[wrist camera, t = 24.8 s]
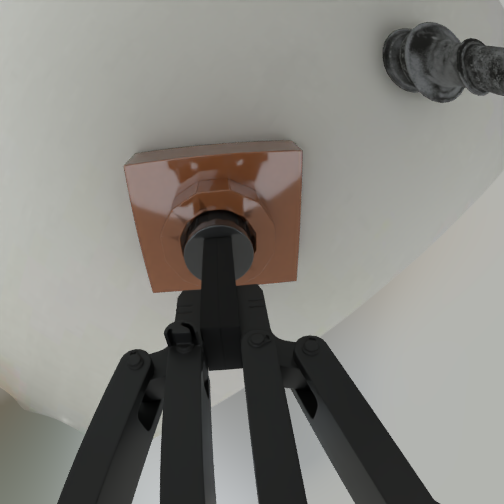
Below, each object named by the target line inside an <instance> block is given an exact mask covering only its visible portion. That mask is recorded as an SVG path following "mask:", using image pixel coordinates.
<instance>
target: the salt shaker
mask: <svg viewBox="0 0 504 504" xmlns="http://www.w3.org/2000/svg"><path fill="white" fill-rule="evenodd" d="M383 61H384V66H385V68H386V71H387V73H388V75H389V76H390V78H391V79H392V81H393V82H394V83H395V84H396V85H398V86H399V87H400V88H402V89H404V90H406V91H410V92H421V93H422V94H423V95H424V96H425V97H427V98H429V99H430V100H432V101H436V102H440V103H444V102H450V101H452V100H454V99H456V98H457V97H458V96H459V95H460V94H461V93H462V91H463V89H464V88H467V89H468V90H469V91H470V92H471V93H473V94H476V95H478V96H484V95H486V94H488V93H489V92H491V93H494V94H498V95H502V96H504V48H502V47H494V46H486V45H484V44H483V43H482V42H481V41H479V40H477V39H472V38H470V39H466V40H464V41H463V42H462V43H460V41H459V40H458V38H457V37H456V36H455V35H454V34H453V33H452V32H451V31H450V30H449V29H447V28H446V27H445V26H443V25H440V24H438V23H433V22H426V23H422V24H419V25H417V26H416V27H415V28H413V29H412V30H411V29H399V30H396V31H394V32H393V33H391V34H390V35H389V36H388V38H387V39H386V41H385V44H384V47H383Z"/></svg>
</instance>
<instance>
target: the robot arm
mask: <svg viewBox="0 0 504 504" xmlns="http://www.w3.org/2000/svg"><path fill="white" fill-rule="evenodd" d="M164 335H165V338H166V341H167V344H168V347H166V348H165V349H163V350H161V351H159V352H155V353H152V354H148V353H147V352H146V351H144V350H141V349H135V350H131V351H129V352H127V353H126V354H124V356H123V357H122V358H121V360H120V362H119V364H118V366H117V368H116V370H115V372H114V374H113V376H112V378H111V380H110V382H109V384H108V386H107V388H106V390H105V393H104V395H103V397H102V399H101V401H100V403H99V405H98V407H97V410H96V412H95V414H94V416H93V418H92V421H91V423H90V425H89V427H88V430H87V432H86V434H85V436H84V439H83V441H82V443H81V446H80V448H79V450H78V453H77V455H76V457H75V460H74V462H73V465H72V467H71V470H70V472H69V474H68V477H67V480H66V482H65V485H64V488H63V490H62V492H61V495H60V498H59V500H58V503H57V504H131V503H132V500H133V497H134V494H135V491H136V488H137V485H138V481H139V478H140V475H141V472H142V469H143V466H144V463H145V460H146V457H147V454H148V451H149V448H150V445H151V442H152V439H153V436H154V433H155V430H156V427H157V424H158V422H159V419H160V416H161V413H162V410H163V420H162V439H161V440H162V441H161V466H160V504H216V494H215V479H214V465H213V447H212V425H211V399H210V380H209V376H208V368H209V371H213V370H227V369H239V368H243V373H244V383H245V392H246V401H247V411H248V420H249V429H250V436H251V446H252V454H253V463H254V471H255V479H256V487H257V495H258V502H259V504H307V499H306V494H305V489H304V485H303V479H302V474H301V469H300V464H299V459H298V454H297V449H296V444H295V439H294V434H293V429H292V424H291V419H290V414H289V409H288V404H287V399H286V394H285V389H284V387H285V388H291V390H292V392H293V394H294V396H295V398H296V399H297V401H298V403H299V405H300V407H301V409H302V410H303V412H304V414H305V416H306V418H307V420H308V421H309V423H310V425H311V426H312V429H313V430H314V432H315V434H316V436H317V438H318V439H319V441H320V443H321V445H322V447H323V448H324V450H325V452H326V454H327V455H328V457H329V459H330V461H331V463H332V464H333V466H334V468H335V470H336V471H337V473H338V475H339V477H340V478H341V480H342V482H343V483H344V485H345V487H346V489H347V490H348V492H349V494H350V495H351V497H352V499H353V501H354V502H355V504H440V503H438V502H436V501H435V500H434V499H433V498H432V496H431V495H430V493H429V492H428V490H427V489H426V487H425V486H424V485H423V483H422V482H421V480H420V479H419V477H418V476H417V474H416V473H415V471H414V470H413V468H412V467H411V466H410V464H409V462H408V461H407V459H406V458H405V457H404V455H403V454H402V452H401V451H400V449H399V448H398V446H397V445H396V443H395V442H394V441H393V439H392V438H391V436H390V435H389V433H388V432H387V430H386V429H385V427H384V426H383V424H382V423H381V421H380V420H379V419H378V417H377V416H376V414H375V413H374V412H373V410H372V408H371V407H370V405H369V404H368V403H367V401H366V400H365V398H364V397H363V395H362V394H361V392H360V391H359V390H358V388H357V387H356V385H355V384H354V382H353V381H352V380H351V378H350V377H349V375H348V374H347V372H346V371H345V370H344V368H343V367H342V365H341V364H340V362H339V361H338V359H337V358H336V356H335V355H334V354H333V352H332V351H331V349H330V348H329V346H328V345H327V344H326V342H325V341H324V340H323V339H321V338H319V337H317V336H304V337H302V338H300V339H298V340H297V342H290V341H284V340H281V339H279V338H277V337H276V336H275V335H274V334H273V333H272V332H271V329H270V325H269V320H268V315H267V310H266V305H265V300H264V295H263V290H262V289H261V288H260V287H259V286H258V285H257V284H251V285H239V286H236V279H235V269H234V259H233V248H232V238H231V237H222V238H210V239H204V241H203V259H202V279H201V289H198V290H184V291H182V293H181V294H180V296H179V297H178V300H177V309H176V317H175V322H173V323H171V324H169V325H168V326H167V328H166V329H165V331H164Z"/></svg>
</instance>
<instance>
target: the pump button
mask: <svg viewBox="0 0 504 504" xmlns="http://www.w3.org/2000/svg"><path fill="white" fill-rule="evenodd" d="M222 237H231V238H232V248H233V259H234V269H235V279H236V280H237V279H239V278H241V277H242V276H243V275H244V274H245V273H246V272H247V271H248V270H249V269H250V267H251V265H252V262H253V259H254V249H253V244H252V239H251V234H250V230H249V228H248V226H247V224H246V223H245V221H244V220H243V219H242V218H241V217H239V216H238V215H236V214H234V213H232V212H229V211H225V210H212V211H208V212H205V213H203V214H201V215H199V216H198V217H197V218H195V219H194V220H193V221H192V223H191V224H190V226H189V228H188V230H187V234H186V240H185V247H184V261H185V264H186V266H187V268H188V270H189V271H190V272H191V273H192V274H193V275H194V276H195V277H196V278H198V279H200V280H201V279H202V259H203V241H204V239H210V238H222Z"/></svg>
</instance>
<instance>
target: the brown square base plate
mask: <svg viewBox="0 0 504 504" xmlns="http://www.w3.org/2000/svg"><path fill="white" fill-rule="evenodd" d="M302 161H303V151H302V149H300V148H299V147H298V146H297V145H296V144H295V143H294V142H293V141H292V140H281V141H254V142H237V143H222V144H210V145H199V146H189V147H180V148H171V149H163V150H156V151H148V152H141V153H135V154H134V155H133V156H132V157H131V158H130V159H129V161H128V162H127V163H126V164H125V165H124V171H125V176H126V182H127V187H128V192H129V197H130V202H131V207H132V211H133V216H134V220H135V225H136V229H137V233H138V238H139V242H140V246H141V250H142V254H143V258H144V262H145V266H146V269H147V273H148V277H149V280H150V284H151V287H152V291H153V293H158V292H172V291H184V290H198V289H201V280H200V279H198V278H196V277H195V276H194V275H193V274H192V273H191V272H190V271H189V270H188V268H187V266H186V264H185V261H184V247H185V240H186V234H187V230H188V228H189V226H190V224H191V223H192V221H193V220H194V219H195V218H197V217H198V216H199V215H201V214H203V213H205V212H208V211H212V210H225V211H229V212H232V213H234V214H236V215H238V216H239V217H241V218H242V219H243V220H244V221H245V223H246V224H247V226H248V228H249V230H250V234H251V239H252V244H253V249H254V259H253V262H252V265H251V267H250V269H249V270H248V271H247V272H246V273H245V274H244V275H243V276H242V277H241V278H239V279H237V280H236V286H239V285H251V284H257V285H259V284H270V283H280V282H290V281H296V280H297V268H298V252H299V235H300V215H301V191H302Z"/></svg>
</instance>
